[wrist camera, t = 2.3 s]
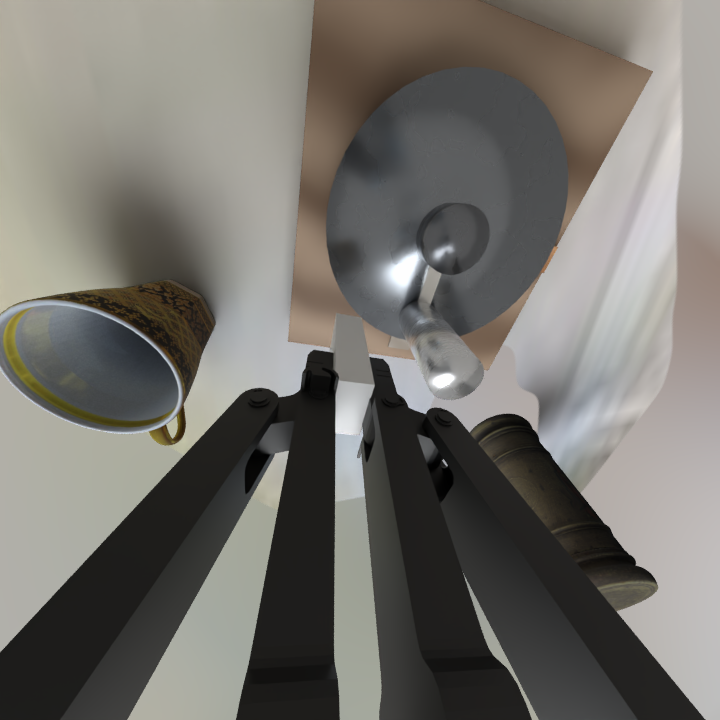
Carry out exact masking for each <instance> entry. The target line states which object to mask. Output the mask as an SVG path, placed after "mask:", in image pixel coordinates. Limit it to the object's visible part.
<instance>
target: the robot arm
mask: <svg viewBox="0 0 720 720" xmlns="http://www.w3.org/2000/svg"><path fill="white" fill-rule="evenodd" d="M362 427H363V438H362V441H361V444H360V448H359V451H358V455H357V458H360V455H361V454H362V465H363V476H364V488H365V499H366V510H367V522H368V533H369V544H370V554H371V555H370V556H371V567H372V578H373V589H374V601H375V612H376V624H377V634H378V646H379V658H380V669H381V680H382V681H381V683H382V694H381V703H380V711H379V714H380V715H379V720H532V719H531V716H530V713H529V711H528V708H527V705H526V703H525V701H524V698H523V696H522V694H521V692H520V689H519V687H518V685H517V683H516V681H515V680H514V678H513V677H512V675H511V674H510V672H509V670H508V669H507V668H506V667H505V666H504V665H503V664H502V663H501V662H500V661H498V660H497V659H496V658H495V657H494V656H493V655H492V653H491V651H490V650H489V648H488V646H487V643H486V641H485V639H484V636H483V633H482V630H481V627H480V624H479V621H478V618H477V615H476V612H475V608H474V606H473V602H472V599H471V596H470V593H469V590H468V588H467V584H466V581H465V578H464V575H465V577H466V579H467V581H468V583H469V584H470V587H471V589H472V591H473V593H474V595H475V596H476V598H477V600H478V602H479V604H480V606H481V608H482V610H483V612H484V614H485V616H486V618H487V620H488V621H489V624H490V626H491V628H492V629H493V631H494V633H495V635H496V637H497V639H498V641H499V643H500V645H501V647H502V649H503V651H504V653H505V655H506V656H507V659H508V660H509V662H510V664H511V666H512V668H513V670H514V672H515V674H516V676H517V678H518V680H519V682H520V684H521V685H522V688H523V690H524V692H525V694H526V695H527V697H528V699H529V701H530V703H531V705H532V707H533V709H534V711H535V713H536V715H537V717H538V719H539V720H705V719H704V718H703V716H702V715H701V714H700V713H699V712H698V710H697V709H696V708H695V707H694V706H693V704H692V703H691V702H690V701H689V699H688V698H687V697H686V696H685V695H684V693H683V692H682V691H681V690H680V688H679V687H678V686H677V685H676V684H675V682H674V681H673V680H672V679H671V677H670V676H669V675H668V674H667V673H666V671H665V670H664V669H663V668H662V667H661V665H660V664H659V663H658V662H657V661H656V659H655V658H654V657H653V656H652V654H651V653H650V652H649V651H648V649H647V648H646V647H645V646H644V645H643V643H642V642H641V641H640V640H639V639H638V637H637V636H636V635H635V634H634V633H633V631H632V630H631V629H630V628H629V626H628V625H627V624H626V623H625V622H624V620H623V619H622V618H621V617H620V616H619V614H618V613H617V612H616V611H615V609H614V608H613V607H612V606H611V604H610V603H609V602H608V601H607V600H606V598H605V597H604V596H603V595H602V594H601V592H600V591H599V590H598V589H597V587H596V586H595V585H594V584H593V583H592V581H591V580H590V579H589V578H588V577H587V575H586V574H585V573H584V572H583V570H582V569H581V568H580V567H579V566H578V564H577V563H576V562H575V561H574V559H573V558H572V557H571V556H570V555H569V553H568V552H567V551H566V550H565V549H564V547H563V546H562V545H561V544H560V542H559V541H558V540H557V539H556V538H555V536H554V535H553V534H552V533H551V531H550V530H549V529H548V528H547V527H546V525H545V524H544V523H543V522H542V521H541V519H540V518H539V517H538V516H537V514H536V513H535V512H534V511H533V510H532V508H531V507H530V506H529V505H528V504H527V502H526V501H525V500H524V499H523V497H522V496H521V495H520V494H519V493H518V491H517V490H516V489H515V488H514V486H513V485H512V484H511V483H510V482H509V480H508V479H507V478H506V477H505V476H504V474H503V473H502V472H501V471H500V469H499V468H498V467H497V466H496V465H495V463H494V462H493V461H492V460H491V458H490V457H489V456H488V455H487V454H486V452H485V451H484V450H483V449H482V448H481V446H480V445H479V444H478V443H477V441H476V440H475V439H474V438H473V437H472V435H471V434H470V433H469V432H468V431H467V429H466V428H465V427H464V426H463V424H462V423H461V422H460V421H459V420H458V418H457V417H456V416H454V415H453V414H452V413H451V412H449V411H447V410H444V409H442V408H431V409H429V410H428V411H427V413H426V414H423V413H420V412H417V411H415V410H412V409H410V408H408V405H407V403H406V401H405V399H404V398H402V397H401V396H400V395H398V394H397V392H396V388H395V385H394V382H393V378H392V375H391V373H390V368H389V365H388V364H387V363H386V362H385V361H384V360H383V359H378V358H371V357H369V353H368V348H367V343H366V338H365V333H364V328H363V323H362V318H361V317H355V316H349V315H344V314H338V313H336V318H335V323H334V329H333V335H332V341H331V347H330V352H325V351H318V350H313V351H312V352H310V353H309V354H308V358H307V363H306V369H305V370H304V371H303V373H302V382H301V389H300V390H299V392H297V393H295V394H293V395H291V396H286V397H278V395H277V394H276V393H275V392H273V391H271V390H269V389H264V388H255V389H250V390H248V391H245V392H244V393H242V394H241V395H240V396H239V397H238V398H237V399H236V400H235V401H234V402H233V403H232V405H231V406H230V407H229V408H228V409H227V410H226V411H225V412H224V413H223V414H222V415H221V416H220V417H219V418H218V420H217V421H216V422H215V423H214V424H213V425H212V426H211V427H210V428H209V429H208V430H207V431H206V432H205V434H204V435H203V436H202V437H201V438H200V439H199V440H198V441H197V442H196V443H195V444H194V445H193V446H192V447H191V449H190V450H189V451H188V452H187V453H186V454H185V455H184V456H183V457H182V458H181V459H180V460H179V462H177V464H176V465H175V466H174V467H173V468H172V469H171V470H170V471H169V472H168V473H167V474H166V476H164V477H163V479H162V480H161V481H160V482H159V483H158V484H157V485H156V486H155V487H154V488H153V489H152V490H151V492H149V494H148V495H147V496H146V497H145V498H144V499H143V500H142V501H141V502H140V503H139V504H138V505H137V507H135V509H134V510H133V511H132V512H131V513H130V514H129V515H128V516H127V517H126V518H125V519H124V520H123V521H122V522H121V524H120V525H119V526H118V527H117V528H116V529H115V530H114V531H113V532H112V533H111V534H110V536H108V537H107V539H106V540H105V541H104V542H103V543H102V544H101V545H100V546H99V547H98V548H97V549H96V550H95V551H94V553H93V554H92V555H91V556H90V557H89V558H88V559H87V560H86V561H85V562H84V563H83V565H81V566H80V567H79V569H78V570H77V571H76V572H75V573H74V574H73V575H72V576H71V577H70V578H69V579H68V580H67V581H66V583H65V584H64V585H63V586H62V587H61V588H60V589H59V590H58V591H57V592H56V593H55V594H54V595H53V596H52V598H51V599H50V600H49V601H48V602H47V603H46V604H45V605H44V606H43V607H42V608H41V609H40V610H39V612H38V613H37V614H36V615H35V616H34V617H33V618H32V619H31V620H30V621H29V622H28V623H27V624H26V625H25V626H24V628H23V629H22V630H21V631H20V632H19V633H18V634H17V635H16V636H15V637H14V638H13V639H12V640H11V641H10V642H9V644H8V645H7V646H6V647H5V648H4V649H3V650H2V651H1V652H0V720H127V719H128V717H129V715H130V714H131V712H132V710H133V708H134V706H135V705H136V703H137V701H138V699H139V697H140V696H141V694H142V692H143V690H144V689H145V687H146V685H147V683H148V681H149V679H150V678H151V676H152V674H153V672H154V671H155V669H156V667H157V665H158V663H159V662H160V660H161V658H162V656H163V654H164V653H165V651H166V649H167V647H168V646H169V644H170V642H171V640H172V638H173V637H174V635H175V633H176V631H177V629H178V628H179V626H180V624H181V622H182V620H183V619H184V617H185V615H186V613H187V611H188V609H189V608H190V606H191V604H192V602H193V601H194V599H195V597H196V595H197V594H198V592H199V590H200V588H201V586H202V585H203V583H204V581H205V579H206V577H207V576H208V574H209V572H210V570H211V568H212V567H213V565H214V563H215V561H216V559H217V558H218V556H219V554H220V552H221V551H222V548H223V547H224V545H225V543H226V541H227V540H228V538H229V536H230V534H231V533H232V531H233V529H234V527H235V525H236V523H237V522H238V520H239V518H240V516H241V515H242V513H243V511H244V509H245V507H246V506H247V504H248V502H249V500H250V499H251V497H252V495H253V493H254V491H255V490H256V488H257V486H258V484H259V482H260V481H261V479H262V477H263V475H264V473H265V472H266V470H267V468H268V466H269V464H270V463H271V461H272V459H273V457H274V455H275V453H279V452H284V451H289V454H288V459H287V465H286V470H285V475H284V481H283V486H282V491H281V497H280V502H279V507H278V512H277V518H276V524H275V529H274V534H273V539H272V544H271V550H270V555H269V560H268V565H267V571H266V576H265V581H264V587H263V592H262V598H261V603H260V608H259V613H258V618H257V624H256V629H255V635H254V640H253V645H252V651H251V656H250V660H249V665H248V669H247V673H246V677H245V681H244V685H243V689H242V694H241V699H240V703H239V708H238V713H237V718H236V720H340V717H339V690H338V678H337V673H336V668H335V662H334V548H335V545H334V542H335V537H334V536H335V433H338V434H349V435H359V436H360V433H361V430H362ZM443 459H444V460H445V461H446V463H447V465H448V466H446V465H445V464H444V463H443V461H442V460H443ZM462 571H463V572H462ZM463 573H464V575H463Z"/></svg>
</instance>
